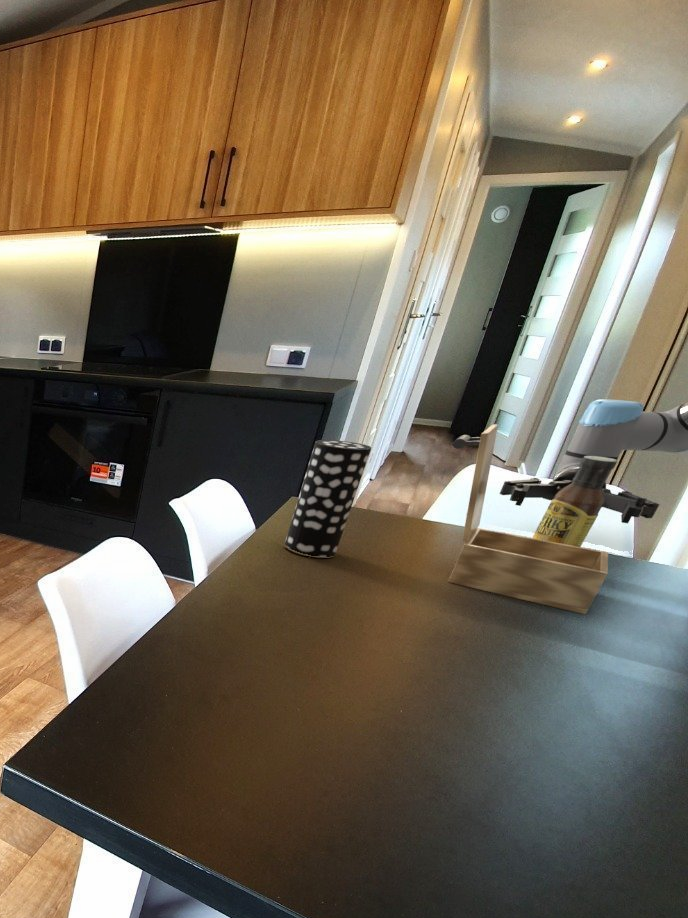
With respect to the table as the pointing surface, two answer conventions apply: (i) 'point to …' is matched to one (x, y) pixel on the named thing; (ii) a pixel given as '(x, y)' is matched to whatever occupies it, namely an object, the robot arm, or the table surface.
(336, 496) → the white-spotted black cylinder
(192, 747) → the table surface
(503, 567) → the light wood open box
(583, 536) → the sauce bottle
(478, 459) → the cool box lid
